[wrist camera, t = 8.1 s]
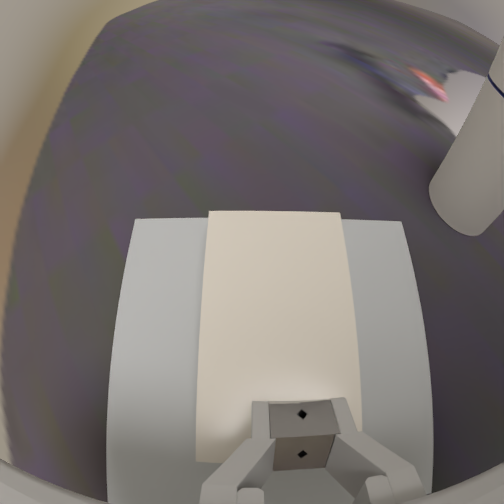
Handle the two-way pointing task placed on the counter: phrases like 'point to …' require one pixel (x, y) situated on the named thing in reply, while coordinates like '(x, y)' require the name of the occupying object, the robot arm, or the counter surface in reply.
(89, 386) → the counter surface
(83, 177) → the counter surface
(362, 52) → the counter surface
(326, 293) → the tile
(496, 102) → the cylindrical container
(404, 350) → the mat
